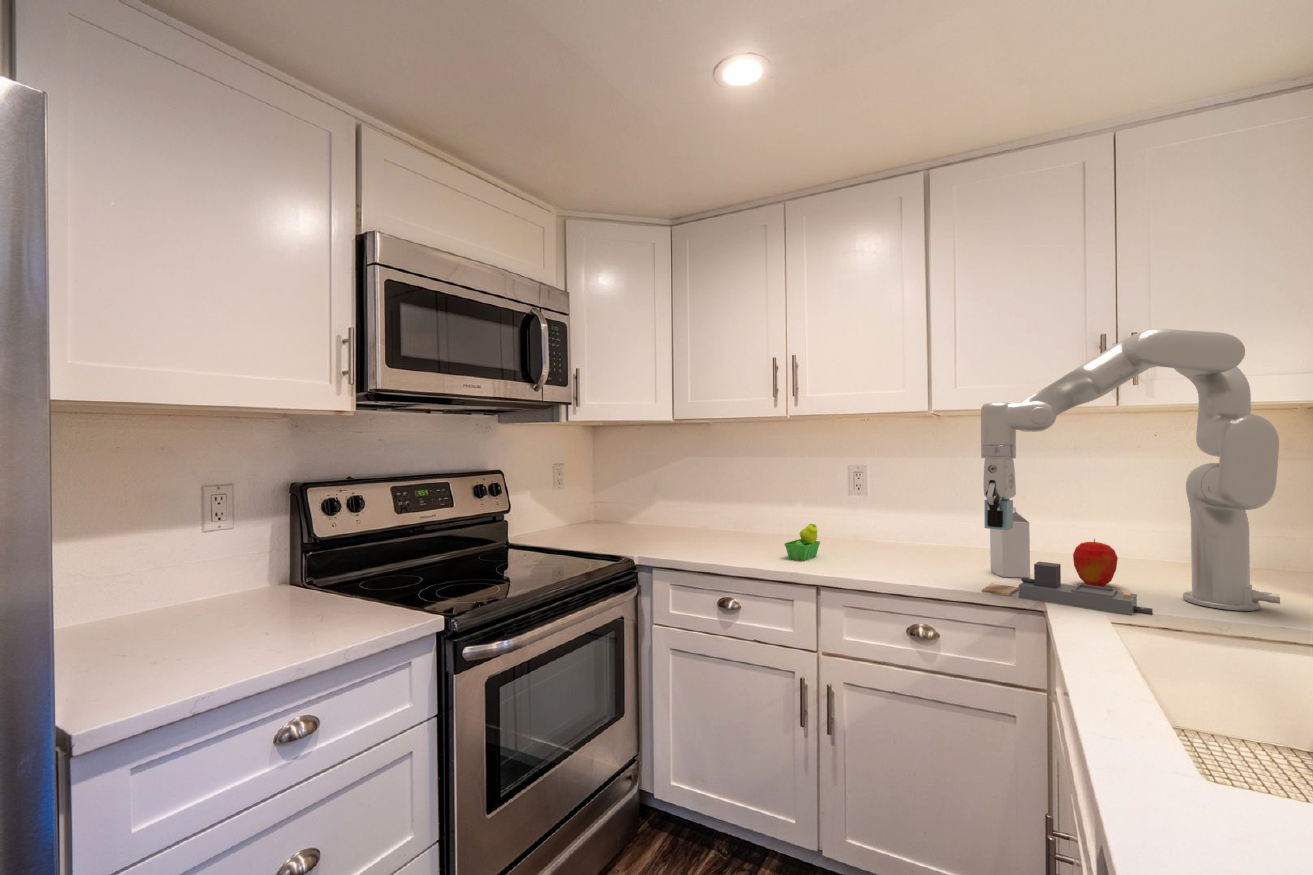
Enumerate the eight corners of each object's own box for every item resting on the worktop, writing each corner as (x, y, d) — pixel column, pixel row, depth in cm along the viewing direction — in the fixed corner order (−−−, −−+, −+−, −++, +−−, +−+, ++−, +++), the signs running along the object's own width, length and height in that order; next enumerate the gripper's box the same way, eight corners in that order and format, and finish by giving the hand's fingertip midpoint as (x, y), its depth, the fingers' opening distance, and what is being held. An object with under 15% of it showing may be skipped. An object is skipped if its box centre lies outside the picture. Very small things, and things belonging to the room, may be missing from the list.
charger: (1013, 528, 147) (1012, 500, 147) (1006, 530, 143) (1006, 501, 143) (990, 526, 150) (990, 498, 150) (984, 528, 146) (984, 500, 147)
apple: (1124, 591, 144) (1123, 542, 144) (1080, 588, 147) (1079, 540, 147) (1109, 582, 153) (1109, 536, 153) (1068, 580, 156) (1068, 534, 156)
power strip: (1154, 610, 129) (1153, 573, 129) (1150, 618, 123) (1149, 580, 123) (1025, 590, 146) (1025, 558, 146) (1016, 597, 141) (1016, 563, 141)
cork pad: (1018, 589, 147) (1018, 587, 147) (1009, 596, 142) (1009, 593, 142) (992, 585, 152) (992, 583, 152) (982, 591, 146) (982, 589, 146)
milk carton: (1016, 572, 166) (1016, 504, 166) (1030, 578, 159) (1029, 507, 159) (990, 571, 167) (989, 504, 167) (1002, 577, 160) (1001, 507, 160)
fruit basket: (800, 553, 196) (799, 519, 196) (825, 557, 191) (824, 522, 191) (783, 559, 188) (782, 523, 188) (809, 563, 182) (808, 526, 182)
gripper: (1005, 453, 138) (1005, 531, 138) (1024, 451, 150) (1025, 523, 150) (970, 452, 143) (970, 527, 143) (992, 451, 155) (992, 520, 155)
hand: (998, 524), depth 147 cm, fingers closed on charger, 5 cm apart
